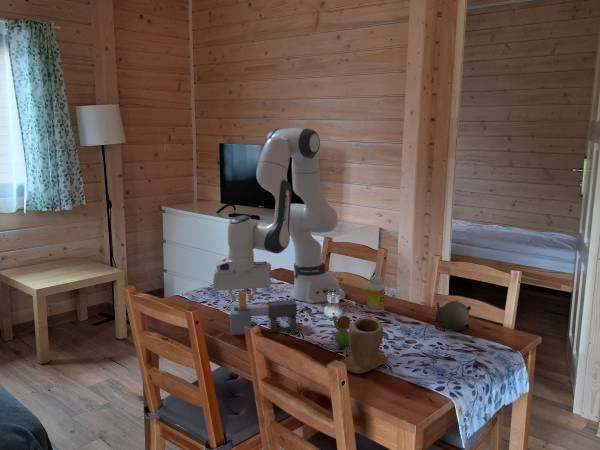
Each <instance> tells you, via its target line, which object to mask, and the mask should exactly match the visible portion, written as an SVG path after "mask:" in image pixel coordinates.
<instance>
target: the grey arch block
mask: <svg viewBox="0 0 600 450" xmlns="http://www.w3.org/2000/svg"><path fill="white" fill-rule="evenodd" d="M267 304H268V306H269V315H267V316H268V326H269V329H270V332H274V331H275V332H276V331H277V329H278V328H277V323H278V322H277V318H287V323H288V326H289V329H290V330H291V331H292V330H297V316H298V314H297V313H298V310H297V309H298V307H297V301H296V299H289V300H287V299H286V300H272V301H271V300H270V301H267V302H266V305H267Z"/></svg>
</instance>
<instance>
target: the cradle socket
mask: <svg viewBox="0 0 600 450" xmlns="http://www.w3.org/2000/svg"><path fill="white" fill-rule="evenodd" d="M238 306H239V303H238V304H237V303H236V304H229V317H230V318H229V320H230V335H231V336H235V335H245V334H244V326H251V327H252V316H251V311H250V310H245V311H239V310H238ZM246 306H250V303H246Z"/></svg>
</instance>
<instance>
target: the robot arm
mask: <svg viewBox="0 0 600 450" xmlns="http://www.w3.org/2000/svg"><path fill="white" fill-rule="evenodd" d="M320 146H321V140H320V135H319V134H318V132H317V131H315V130H314V129H311V128H300V127H299V128H298V127H290V128H289V127H288V128H275V129H272V130H270V131H269V132H268V134H267V135H266V137H265V143H264V145H263V148H262V149H261V153H260V156H259V159H258V163H257V168H256V172H255V174H256V175H255V178H256V180H257V183H258V184H259V185H260V187H261V188H262V189H264V190H266V192H267V191H268V192H269V193H271V194H272V196H273V197H274V199H275V208H274V219H273V222H272V223H264V222H260V221H259V222H258V221H255V220H254V219H252V218H251V217H250V216H249V215H245V214H244V215H243V214H242V215H237V216H234V217H232V218H231V219H230V220H229V222H228V227H227V244H228V254H227V255H228V256H227V257H224V258H222V259H219V260H217V261H216V263H215V269H214V273H213V281H212V286H213V287H212V288H213V289H214V291H228V294H229V295H230V296H231V297H230V298H231V302H237V296H236V294H233V290H246V289H247V290H249V289H250V290H251V293H249V294H248V301H254V295H255V294H256V292H257V289H264V288H267V289H268V288H270V287H271V285H272V283H271V275H270V273H271V272H272V265H271V263H269V262H267V261H266V260H265V261H255V254H254V253H255V252H254V249H255V250H260V251H264V252H265V251H266V252H269V253H273V254H277V255H278V254H280V253H282V252H283V251H285V249H287V248H288V246H289V244H290V241H292V243H293V244H292V245H293V249H294V264H293V276H294V277H293V278H294V282H293V283H294V284H293V288H292V293H291V298H292V299H293V300H295V301H296V300H297V301H300V302H305V303H309V304H317V303H326V302H328V301H327V295H328V292H329V291H332V289H333V287H335V291H336V293H337V294H339V295H340V298H341V300H344V299H345V298H346V293H345V291H344V290H343V289H341V288H340V286H341V285H340V283H339V281H338V280H337V279H336V277H334V276H333V275H331V274H330V273H328V272H329V270H330V268H329V265H326V264H325V263H323V262H322V246H321V244H320V242H319V241H318V240H316V239H315V238H314V237H313V236H312V234H311V233H329V232H333V231H334V230H335V229H336V227H337V225H338V221H339V218H338V214H337V211H336V209H335V208H334V207H332V206H331V205H330V204H329V203H328V202H327V200H326V198H325V196H324V194H323V191H322V187H321V186H322V185H321V175H320V162H319V161H320V160H319V156H318V151H319V150H320ZM290 158H291V159H290ZM290 160H291V178H292V186H291V184H290V182H288V170H289V165H290ZM292 190H293V192H294V193H295V195H297V196H298V197H300V198H301V200H302V202H303V203H292ZM290 238H291V240H290Z"/></svg>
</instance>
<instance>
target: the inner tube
mask: <svg viewBox="0 0 600 450" xmlns="http://www.w3.org/2000/svg"><path fill="white" fill-rule="evenodd" d="M238 304H239V306H238V310H239V311H245V310H250V311H251V317H263V316H268V315H269V306H268V304H267V303H266V304H254V305H253V304H252V305H249V306H246V304H247V291H246V290H241V291H238Z"/></svg>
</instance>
